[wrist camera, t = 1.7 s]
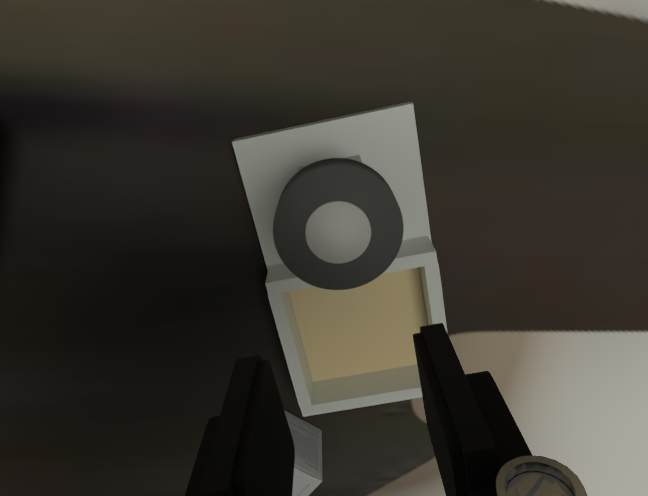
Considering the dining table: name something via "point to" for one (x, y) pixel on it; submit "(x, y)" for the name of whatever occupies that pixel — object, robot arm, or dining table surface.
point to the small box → (305, 455)
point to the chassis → (361, 302)
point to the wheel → (337, 224)
